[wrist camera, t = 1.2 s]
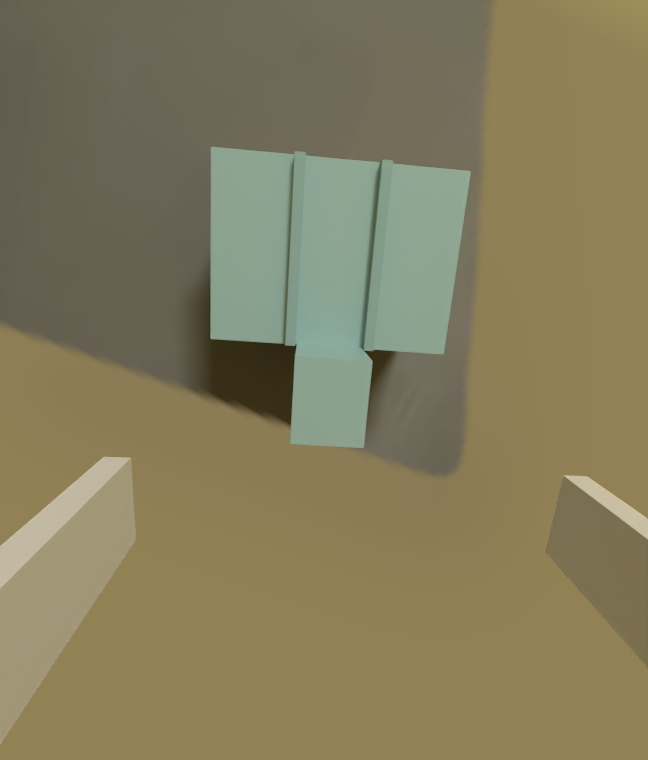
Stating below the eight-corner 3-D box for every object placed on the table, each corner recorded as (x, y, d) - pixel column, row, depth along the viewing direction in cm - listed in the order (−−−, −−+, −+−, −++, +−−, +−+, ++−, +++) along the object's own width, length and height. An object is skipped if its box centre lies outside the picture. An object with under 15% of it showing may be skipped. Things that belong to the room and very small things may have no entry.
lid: (216, 403, 27) (189, 439, 21) (218, 156, 23) (186, 112, 17) (425, 414, 28) (458, 452, 22) (459, 178, 24) (510, 144, 18)
